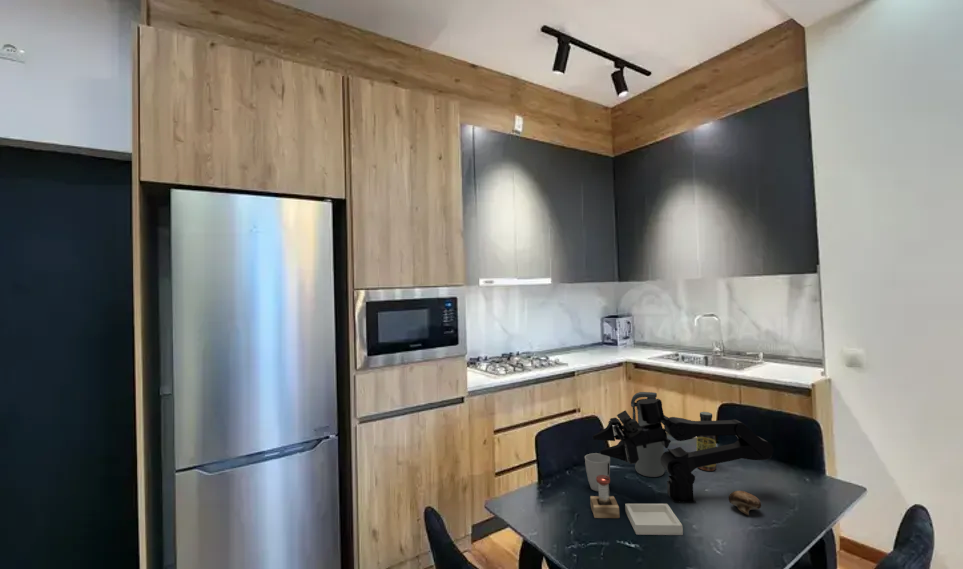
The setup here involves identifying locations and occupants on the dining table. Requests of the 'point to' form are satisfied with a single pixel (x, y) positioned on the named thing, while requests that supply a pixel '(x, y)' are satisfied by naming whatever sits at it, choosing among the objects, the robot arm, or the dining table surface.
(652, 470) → the water bottle
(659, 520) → the tray
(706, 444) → the sauce bottle
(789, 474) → the dining table surface
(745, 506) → the mushroom
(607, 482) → the red capped tube
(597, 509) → the block
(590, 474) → the cup
